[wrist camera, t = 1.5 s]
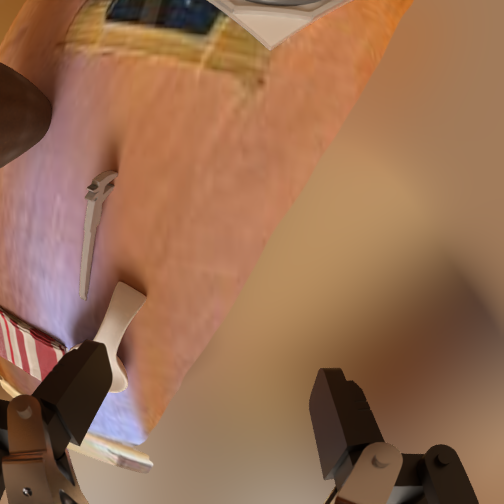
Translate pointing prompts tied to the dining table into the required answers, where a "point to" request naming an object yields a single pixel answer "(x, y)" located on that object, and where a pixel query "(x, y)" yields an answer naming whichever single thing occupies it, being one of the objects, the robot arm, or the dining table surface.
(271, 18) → the dial plate
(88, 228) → the caliper
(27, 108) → the plant pot
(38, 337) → the dish towel
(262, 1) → the dial
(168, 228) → the dining table surface
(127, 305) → the spoon rest
